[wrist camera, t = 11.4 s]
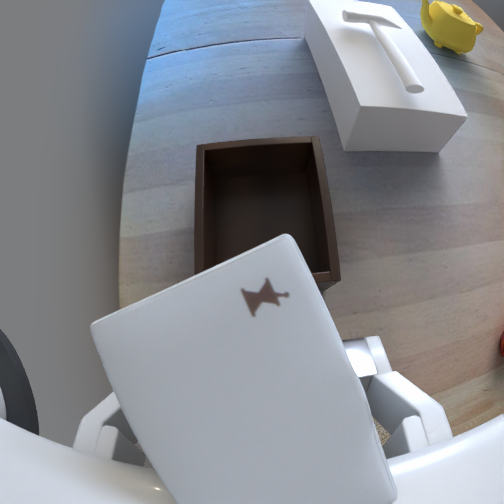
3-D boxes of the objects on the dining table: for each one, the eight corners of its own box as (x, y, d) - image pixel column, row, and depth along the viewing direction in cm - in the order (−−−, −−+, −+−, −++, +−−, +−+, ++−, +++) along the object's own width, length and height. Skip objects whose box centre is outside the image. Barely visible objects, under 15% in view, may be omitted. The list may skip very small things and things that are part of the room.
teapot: (415, 45, 38) (430, 5, 27) (396, 18, 40) (407, -18, 30) (480, 66, 37) (499, 35, 26) (460, 37, 39) (474, 7, 29)
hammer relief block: (381, 41, 38) (394, -4, 27) (438, 152, 32) (477, 105, 21) (304, 36, 38) (307, -15, 28) (343, 151, 32) (366, 90, 22)
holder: (211, 297, 30) (194, 290, 23) (210, 177, 33) (196, 144, 26) (325, 289, 29) (341, 280, 22) (311, 169, 32) (318, 135, 26)
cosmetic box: (208, 319, 16) (79, 313, 5) (277, 290, 16) (295, 219, 5) (250, 413, 15) (214, 561, 3) (319, 385, 15) (410, 498, 3)
